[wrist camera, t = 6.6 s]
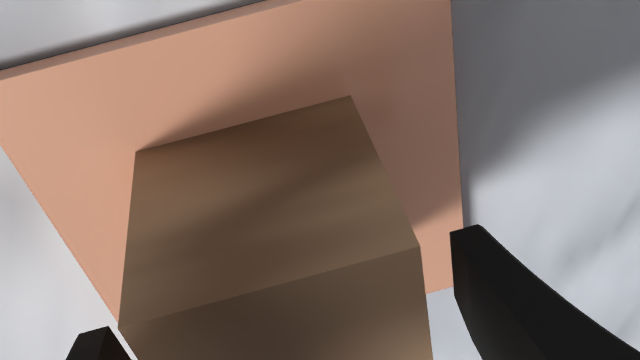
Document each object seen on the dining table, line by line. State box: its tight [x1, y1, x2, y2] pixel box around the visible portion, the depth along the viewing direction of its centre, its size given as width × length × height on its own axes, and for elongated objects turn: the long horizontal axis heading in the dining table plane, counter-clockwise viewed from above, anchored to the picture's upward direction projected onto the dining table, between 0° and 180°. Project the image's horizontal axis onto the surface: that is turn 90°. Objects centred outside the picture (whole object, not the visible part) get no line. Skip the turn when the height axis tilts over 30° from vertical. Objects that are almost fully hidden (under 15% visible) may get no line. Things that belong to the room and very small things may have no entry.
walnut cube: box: [118, 95, 433, 360], centre depth 13 cm, size 5×5×5 cm
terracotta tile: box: [0, 0, 463, 322], centre depth 15 cm, size 10×10×1 cm
